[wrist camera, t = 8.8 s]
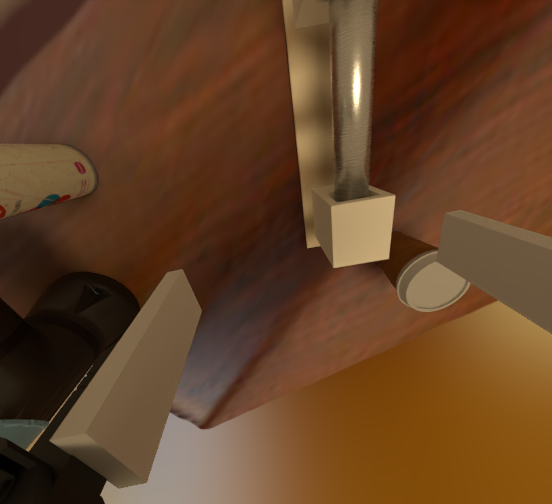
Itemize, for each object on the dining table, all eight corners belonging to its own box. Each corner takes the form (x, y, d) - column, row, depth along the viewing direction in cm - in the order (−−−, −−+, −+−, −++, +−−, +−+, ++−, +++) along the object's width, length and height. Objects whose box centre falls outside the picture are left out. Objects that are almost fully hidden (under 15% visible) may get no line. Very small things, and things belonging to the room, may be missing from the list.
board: (362, 237, 37) (364, 238, 36) (306, 246, 37) (307, 248, 37) (375, -113, 20) (378, -120, 20) (272, -92, 20) (272, -99, 20)
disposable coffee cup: (352, 251, 38) (388, 293, 28) (395, 211, 35) (453, 240, 25) (384, 278, 41) (427, 324, 31) (426, 243, 38) (489, 280, 28)
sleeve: (354, 228, 36) (388, 258, 26) (314, 234, 36) (333, 268, 26) (355, 180, 32) (395, 195, 23) (310, 187, 33) (331, 206, 23)
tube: (360, 195, 28) (375, 203, 24) (329, 201, 28) (339, 209, 25) (368, -96, 17) (397, -163, 14) (317, -86, 17) (333, -149, 14)
